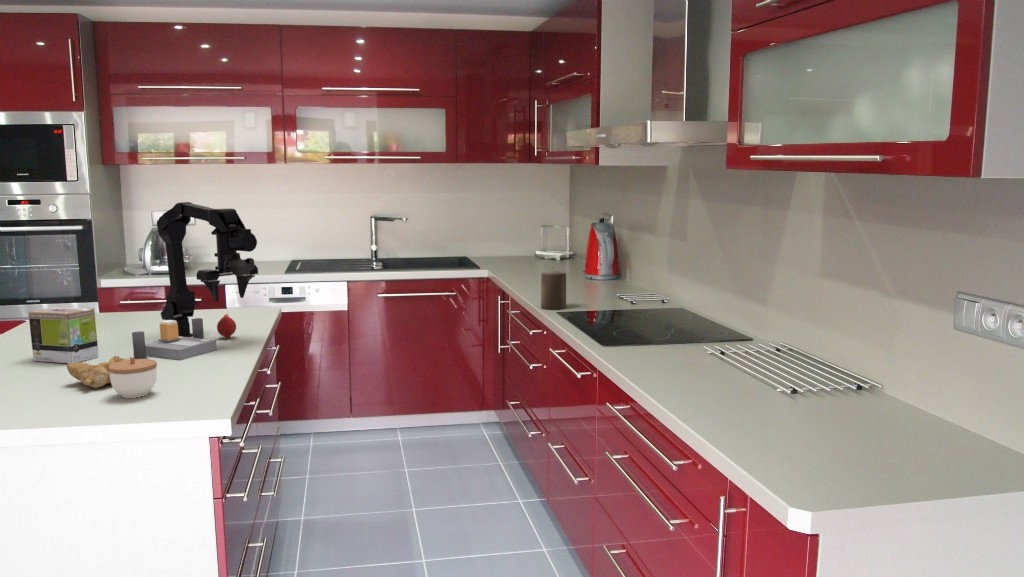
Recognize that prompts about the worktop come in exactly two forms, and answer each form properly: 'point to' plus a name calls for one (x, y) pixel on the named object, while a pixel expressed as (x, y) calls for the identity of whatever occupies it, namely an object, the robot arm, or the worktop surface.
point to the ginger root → (93, 372)
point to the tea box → (63, 334)
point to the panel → (180, 348)
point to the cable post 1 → (139, 345)
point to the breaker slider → (169, 331)
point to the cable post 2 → (197, 328)
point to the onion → (226, 326)
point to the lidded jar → (133, 377)
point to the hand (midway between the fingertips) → (229, 299)
